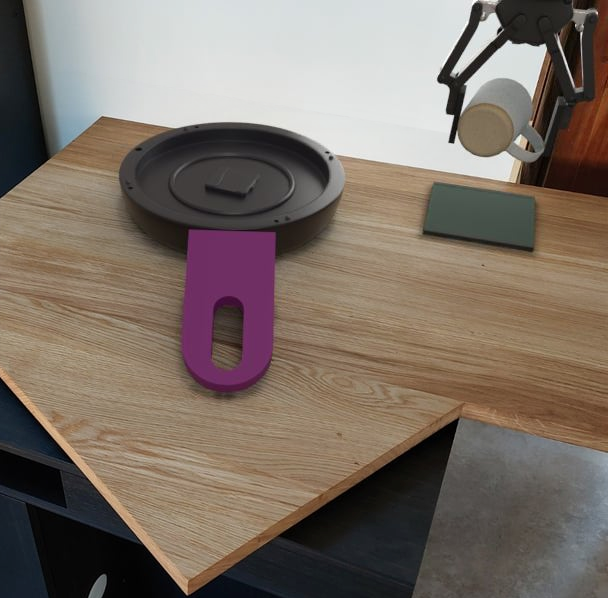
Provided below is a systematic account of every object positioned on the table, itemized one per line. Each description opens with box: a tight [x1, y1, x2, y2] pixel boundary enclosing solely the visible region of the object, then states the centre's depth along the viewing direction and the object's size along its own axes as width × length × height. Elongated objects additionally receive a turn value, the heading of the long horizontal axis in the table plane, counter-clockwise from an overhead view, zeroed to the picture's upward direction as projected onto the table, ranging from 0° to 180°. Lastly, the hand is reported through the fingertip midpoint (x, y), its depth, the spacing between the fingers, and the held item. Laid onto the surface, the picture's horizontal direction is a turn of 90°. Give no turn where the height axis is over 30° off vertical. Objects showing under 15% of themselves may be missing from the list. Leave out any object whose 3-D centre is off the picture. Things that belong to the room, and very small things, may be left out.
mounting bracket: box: [180, 230, 276, 393], centre depth 85 cm, size 10×8×18 cm
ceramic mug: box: [456, 77, 545, 164], centre depth 97 cm, size 11×8×8 cm
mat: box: [422, 180, 536, 253], centre depth 106 cm, size 14×14×1 cm
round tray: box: [118, 121, 346, 256], centre depth 105 cm, size 30×6×30 cm
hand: (498, 145), depth 99 cm, fingers closed on ceramic mug, 11 cm apart
